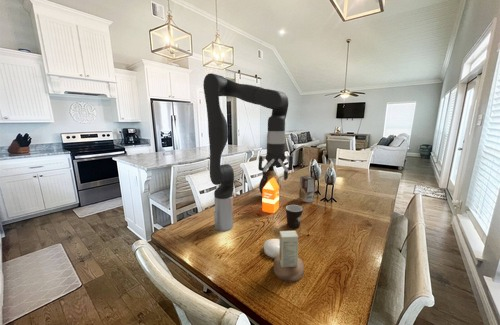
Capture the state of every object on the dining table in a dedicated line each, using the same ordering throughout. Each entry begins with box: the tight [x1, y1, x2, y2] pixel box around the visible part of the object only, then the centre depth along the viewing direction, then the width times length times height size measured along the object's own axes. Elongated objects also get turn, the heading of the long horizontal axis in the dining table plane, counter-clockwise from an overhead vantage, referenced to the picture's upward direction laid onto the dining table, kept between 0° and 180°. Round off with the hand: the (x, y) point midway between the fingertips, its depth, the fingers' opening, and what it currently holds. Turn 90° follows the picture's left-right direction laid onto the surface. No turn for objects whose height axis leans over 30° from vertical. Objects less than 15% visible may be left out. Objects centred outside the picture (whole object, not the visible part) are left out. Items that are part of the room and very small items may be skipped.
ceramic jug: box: [258, 166, 282, 195], centre depth 146 cm, size 17×15×30 cm
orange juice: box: [261, 177, 280, 214], centre depth 127 cm, size 8×9×20 cm
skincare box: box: [279, 229, 299, 267], centre depth 75 cm, size 6×4×12 cm
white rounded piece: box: [263, 238, 280, 259], centre depth 88 cm, size 10×10×2 cm
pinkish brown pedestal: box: [273, 256, 305, 283], centre depth 77 cm, size 11×11×3 cm
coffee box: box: [298, 175, 316, 203], centre depth 142 cm, size 9×6×16 cm
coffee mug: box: [285, 204, 304, 230], centre depth 108 cm, size 12×9×10 cm
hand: (275, 179), depth 88 cm, fingers open, 8 cm apart
